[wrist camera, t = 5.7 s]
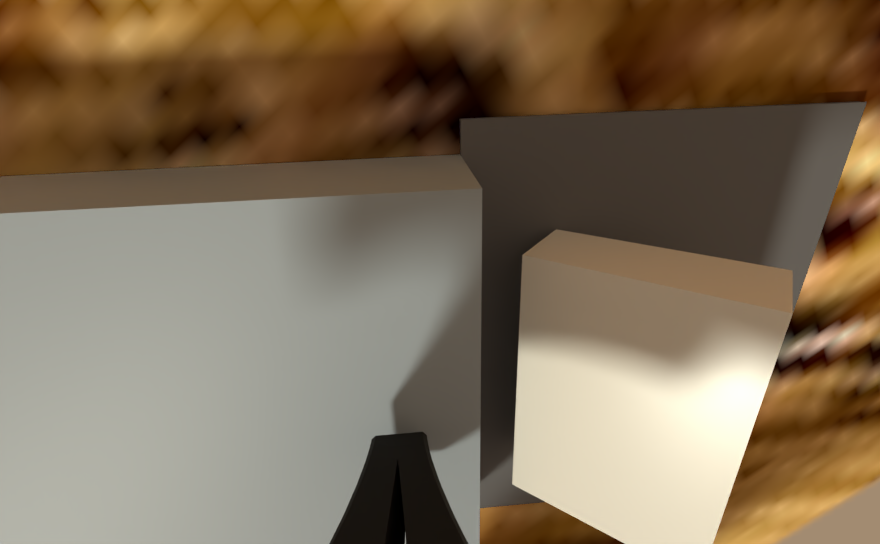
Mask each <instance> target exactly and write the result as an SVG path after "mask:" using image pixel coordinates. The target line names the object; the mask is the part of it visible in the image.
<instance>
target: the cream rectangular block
mask: <svg viewBox="0 0 880 544" xmlns="http://www.w3.org/2000/svg"><path fill="white" fill-rule="evenodd" d="M792 314H793V270H787V269H781V268H776V267H770V266H764V265H758V264H753V263H747V262H741V261H735V260H730V259H724V258H718V257H713V256H707V255H701V254H695V253H690V252H684V251H678V250H672V249H667V248H661V247H655V246H649V245H644V244H638V243H632V242H627V241H621V240H615V239H609V238H604V237H598V236H592V235H586V234H581V233H575V232H569V231H563V230H558V229H556V230H555V231H553V232H552V233H551V234H549V235H548V236H547V237H545V238H544V239H543V240H541V241H540V242H539V243H537V244H536V245H535V246H534V247H532V248H531V249H530V250H528V251H527V252H526V253H524V254H523V255H522V275H521V298H520V320H519V342H518V364H517V387H516V409H515V431H514V454H513V476H512V485H514V486H516V487H518V488H520V489H522V490H524V491H526V492H528V493H530V494H531V495H533V496H535V497H537V498H539V499H541V500H543V501H545V502H547V503H549V504H550V505H552V506H554V507H556V508H558V509H560V510H562V511H564V512H566V513H568V514H569V515H571V516H573V517H575V518H577V519H579V520H581V521H583V522H585V523H587V524H588V525H590V526H592V527H594V528H596V529H598V530H600V531H602V532H604V533H606V534H607V535H609V536H611V537H613V538H615V539H617V540H619V541H621V542H623V543H625V544H713V542H714V539H715V536H716V533H717V531H718V528H719V525H720V522H721V519H722V516H723V513H724V510H725V507H726V505H727V502H728V499H729V496H730V493H731V490H732V487H733V484H734V481H735V478H736V476H737V473H738V470H739V467H740V464H741V461H742V458H743V455H744V452H745V450H746V447H747V444H748V441H749V438H750V435H751V432H752V429H753V426H754V423H755V421H756V418H757V415H758V412H759V409H760V406H761V403H762V400H763V397H764V395H765V392H766V389H767V386H768V383H769V380H770V377H771V374H772V371H773V369H774V366H775V363H776V360H777V357H778V354H779V351H780V348H781V345H782V342H783V340H784V337H785V334H786V331H787V328H788V325H789V322H790V319H791V316H792Z"/></svg>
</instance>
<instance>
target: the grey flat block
mask: <svg viewBox="0 0 880 544" xmlns="http://www.w3.org/2000/svg"><path fill="white" fill-rule="evenodd" d="M481 289H482V187H481V186H480V184H479V183H478V181H477V180H476V178H475V176H474V175H473V173H472V172H471V170H470V169H469V167H468V166H467V164H466V163H465V161H464V160H463V158H462V156H461V155H460V154H456V155H435V156H415V157H394V158H373V159H352V160H331V161H310V162H289V163H268V164H247V165H226V166H205V167H184V168H163V169H142V170H121V171H100V172H80V173H59V174H38V175H17V176H0V544H329V543H330V541H331V539H332V537H333V535H334V533H335V531H336V529H337V527H338V525H339V523H340V521H341V519H342V517H343V515H344V513H345V511H346V508H347V506H348V504H349V501H350V499H351V497H352V494H353V492H354V490H355V488H356V485H357V483H358V480H359V478H360V475H361V472H362V470H363V467H364V464H365V461H366V458H367V455H368V452H369V448H370V444H371V440H372V439H373V438H374V437H375V436H378V435H390V434H402V433H414V432H424V433H425V434H426V435H427V440H428V445H429V450H430V454H431V457H432V461H433V464H434V467H435V470H436V473H437V476H438V478H439V481H440V483H441V486H442V488H443V491H444V493H445V495H446V498H447V500H448V502H449V505H450V507H451V509H452V511H453V514H454V516H455V518H456V520H457V522H458V524H459V526H460V528H461V530H462V532H463V534H464V536H465V538H466V540H467V542H468V544H480V419H481ZM405 544H406V532H405Z"/></svg>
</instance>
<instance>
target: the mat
mask: <svg viewBox="0 0 880 544" xmlns="http://www.w3.org/2000/svg"><path fill="white" fill-rule="evenodd" d="M866 103H867V102H858V101H855V102H832V103H809V104H786V105H763V106H740V107H717V108H693V109H670V110H647V111H624V112H601V113H578V114H555V115H531V116H508V117H485V118H462V119H460V155H461V156H462V158H463V160H464V161H465V163H466V164H467V166H468V167H469V169H470V170H471V172H472V173H473V175H474V176H475V178H476V180H477V181H478V183H479V184H480V186H481V187H482V289H481V419H480V508H486V507H497V506H508V505H518V504H529V503H540V502H545V501H543V500H541V499H539V498H537V497H535V496H533V495H531V494H530V493H528V492H526V491H524V490H522V489H520V488H518V487H516V486H514V485H512V476H513V454H514V431H515V409H516V387H517V364H518V342H519V320H520V298H521V275H522V255H523V254H524V253H526V252H527V251H528V250H530V249H531V248H532V247H534V246H535V245H536V244H537V243H539V242H540V241H541V240H543V239H544V238H545V237H547V236H548V235H549V234H551V233H552V232H553V231H555V230H556V229H558V230H563V231H569V232H575V233H581V234H586V235H592V236H598V237H604V238H609V239H615V240H621V241H627V242H632V243H638V244H644V245H649V246H655V247H661V248H667V249H672V250H678V251H684V252H690V253H695V254H701V255H707V256H713V257H718V258H724V259H730V260H735V261H741V262H747V263H753V264H758V265H764V266H770V267H776V268H781V269H787V270H793V311H794V308H795V305H796V302H797V300H798V297H799V294H800V291H801V288H802V285H803V282H804V280H805V277H806V274H807V271H808V268H809V265H810V262H811V260H812V257H813V254H814V251H815V248H816V245H817V243H818V240H819V237H820V234H821V231H822V228H823V225H824V223H825V220H826V217H827V214H828V211H829V208H830V205H831V203H832V200H833V197H834V194H835V191H836V188H837V186H838V183H839V180H840V177H841V174H842V171H843V168H844V166H845V163H846V160H847V157H848V154H849V151H850V148H851V146H852V143H853V140H854V137H855V134H856V131H857V128H858V126H859V123H860V120H861V117H862V114H863V111H864V109H865V106H866ZM791 317H792V316H791ZM790 320H791V319H790Z"/></svg>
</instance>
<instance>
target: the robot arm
mask: <svg viewBox="0 0 880 544" xmlns="http://www.w3.org/2000/svg"><path fill="white" fill-rule="evenodd" d="M405 532H406V544H468V542H467V540H466V538H465V536H464V534H463V532H462V530H461V528H460V526H459V524H458V522H457V520H456V518H455V516H454V514H453V511H452V509H451V507H450V505H449V502H448V500H447V498H446V495H445V493H444V491H443V488H442V486H441V483H440V481H439V478H438V476H437V473H436V470H435V467H434V464H433V461H432V457H431V454H430V450H429V445H428V440H427V435H426V434H425V433H424V432H414V433H402V434H390V435H378V436H375V437H374V438H373V439H372V440H371V444H370V448H369V452H368V455H367V458H366V461H365V464H364V467H363V470H362V472H361V475H360V478H359V480H358V483H357V485H356V488H355V490H354V492H353V494H352V497H351V499H350V501H349V504H348V506H347V508H346V511H345V513H344V515H343V517H342V519H341V521H340V523H339V525H338V527H337V529H336V531H335V533H334V535H333V537H332V539H331V541H330V543H329V544H405Z"/></svg>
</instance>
